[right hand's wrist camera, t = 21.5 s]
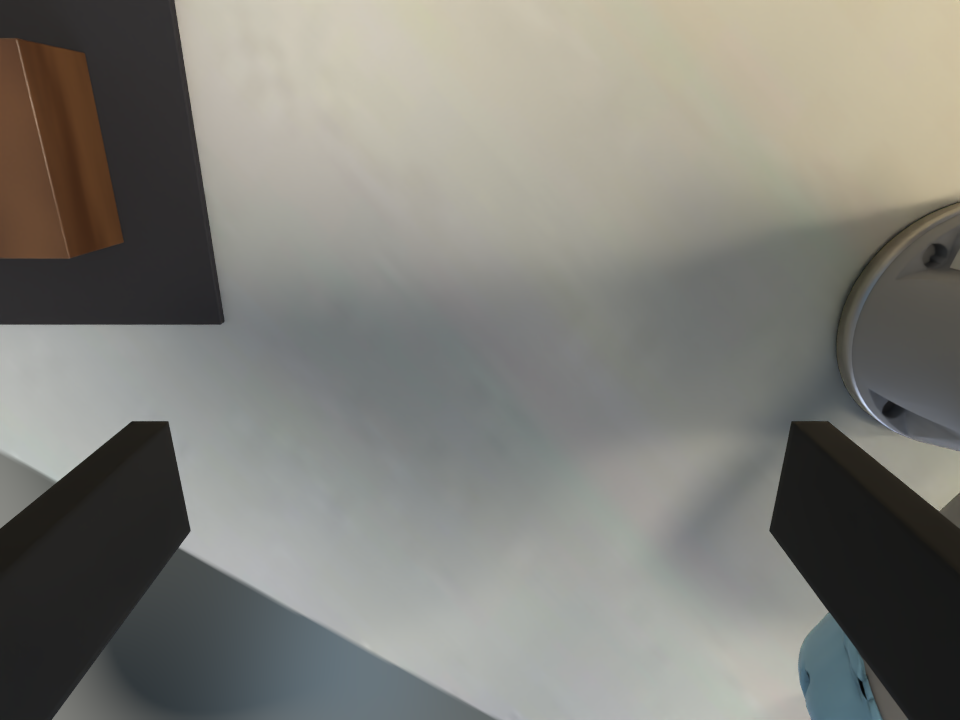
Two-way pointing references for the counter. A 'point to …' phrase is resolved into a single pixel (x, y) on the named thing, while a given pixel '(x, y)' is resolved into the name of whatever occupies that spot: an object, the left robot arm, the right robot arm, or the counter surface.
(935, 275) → the right robot arm
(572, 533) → the counter surface
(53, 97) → the brown square block
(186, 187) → the coaster
